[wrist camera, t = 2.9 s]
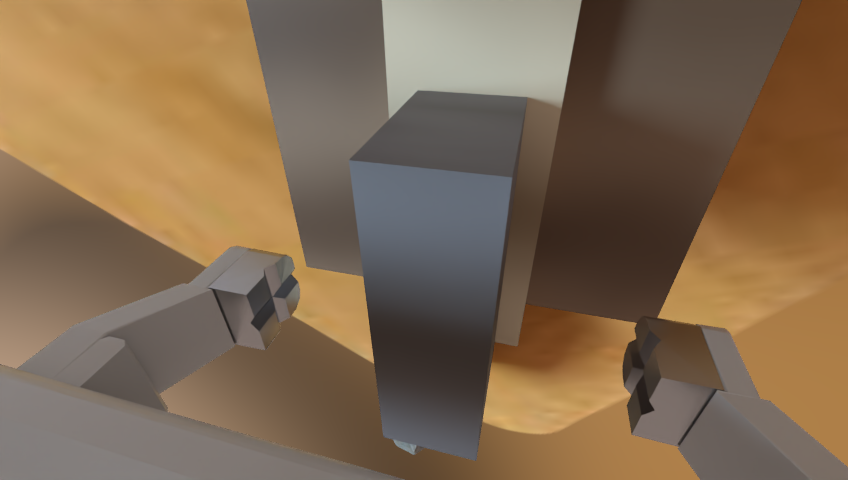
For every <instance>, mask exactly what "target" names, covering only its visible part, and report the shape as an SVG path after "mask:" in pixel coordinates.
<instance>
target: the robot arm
mask: <svg viewBox="0 0 848 480" xmlns="http://www.w3.org/2000/svg"><path fill="white" fill-rule="evenodd" d="M294 269H295V267H294V264H293V260H292V258H291V257H289V256H287V255H283V254H278V253H273V252H268V251H263V250H258V249H250V248H245V247H241V246H234V247H230V248H229V249H228V250H227V251H225V252H224V253H223V254H222V255H221V256H220V257H219V258H217V259H216V260H215V261H214V262H213V263H212V264H211V265H209V266H208V267H207V268H206V269H205V270H204V271H203V272H202V273H200V274H199V275H198V276H197V277H196V278H195V279H194V280H192V281H191V282H190V283H189V284H180V285H177V286H175V287H172V288H170V289H167V290H165V291H162V292H159V293H157V294H154V295H151V296H149V297H146V298H143V299H141V300H139V301H136V302H133V303H131V304H128V305H125V306H123V307H120V308H118V309H115V310H112V311H110V312H107V313H105V314H102V315H99V316H97V317H94V318H92V319H89V320H86V321H84V322H81V323H78V324H76V325H73V326H72V327H71V328H69V329H68V330H67V331H65V332H64V333H63V334H61V335H60V336H59V337H57V338H56V339H55V340H53V341H52V342H51V343H50V344H48V345H47V346H46V347H44V348H43V349H42V350H40V351H39V352H38V353H36V354H35V355H34V356H33V357H31V358H30V359H29V360H27V361H26V362H25V363H23V364H22V365H21V366H19V367H18V368H17V369H15V368H12V367H8V366H5V365H1V364H0V480H404V479H401V478H397V477H394V476H390V475H386V474H383V473H380V472H376V471H373V470H369V469H366V468H362V467H359V466H355V465H352V464H348V463H344V462H341V461H338V460H334V459H331V458H327V457H323V456H320V455H316V454H313V453H309V452H306V451H302V450H299V449H295V448H292V447H288V446H285V445H281V444H278V443H274V442H271V441H267V440H264V439H260V438H257V437H253V436H250V435H246V434H243V433H239V432H236V431H232V430H229V429H225V428H222V427H218V426H215V425H211V424H208V423H204V422H201V421H197V420H194V419H190V418H187V417H183V416H180V415H176V414H173V413H169V412H168V410H167V409H168V407H167V405H166V404H165V402H164V401H163V399H162V398H161V396H160V393H161V392H163V391H164V390H166V389H168V388H169V387H171V386H172V385H174V384H176V383H177V382H178V381H180V380H182V379H184V378H185V377H187V376H188V375H190V374H191V373H193V372H194V371H196V370H198V369H199V368H201V367H203V366H204V365H205V364H207V363H209V362H210V361H212V360H213V359H215V358H217V357H218V356H220V355H222V354H223V353H224V352H226V351H228V350H229V349H231V348H233V347H234V346H235V344H237V345H242V346H247V347H252V348H258V349H262V350H266V349H267V348H268V346H269V345H270V344H271V342H272V341H273V340H274V338H275V337H276V336H277V334H278V333H279V332H280V330H281V329H280V322H282V321H284V320H286V319H288V318H290V317H291V315H292V314H293V313H294V311H295V310H296V308H297V305H298V302H299V299H300V288H299V283H298V281H297V280H296V279H295V278H294V277H293V276H292V275H291V274H292V272H293V271H294ZM635 333H636V339H635V340H634V341H632V342H630V343H628V346H627V349H626V352H625V354H624V361H623V381H624V387H625V388H626V389H627V390H628V392H629V393H630V394H631V398H630V400H629V402H628V404H627V408H628V415H629V421H630V427H631V433H632V435H635V436H639V437H643V438H647V439H651V440H654V441H659V442H662V443H666V444H670V445H674V446H678V447H679V448H678V449H679V451H680V452H681V454H682V455H683V456H684V458H685V459H686V460H687V462H688V463H689V465H690V466H691V467H692V469H693V470H694V471H695V473H696V474H697V476H698V477H699V478H700V480H848V467H847V466H846V465H844V463H842V462H841V461H840V460H838V458H837V457H835V456H834V455H833V454H832V453H831V452H829V451H828V450H827V449H826V448H825V447H824V446H822V445H821V444H820V443H819V442H818V441H817V440H815V439H814V438H813V437H812V436H810V435H809V434H808V433H807V432H806V431H805V430H804V429H802V428H801V427H800V426H799V425H798V424H796V423H795V422H794V421H793V420H792V419H791V418H789V417H788V416H787V415H786V414H785V413H783V412H782V411H781V410H780V409H779V408H778V407H776V406H775V405H774V404H773V403H772V402H771V401H768V400H763V399H760V397H759V395H758V392H757V390H756V388H755V386H754V384H753V382H752V380H751V377H750V375H749V373H748V371H747V369H746V367H745V364H744V362H743V360H742V358H741V356H740V354H739V352H738V349H737V347H736V345H735V343H734V341H733V339H732V337H731V334H730V333H729V332H728V331H727V330H726V329H725V328H718V327H712V326H705V325H699V324H696V325H694V324H690V323H684V322H678V321H672V320H665V319H659V318H653V317H647V316H642V317H641V318H640V319H639V320H638V322H637V324H636V327H635Z"/></svg>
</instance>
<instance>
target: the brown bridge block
mask: <svg viewBox="0 0 848 480" xmlns="http://www.w3.org/2000/svg"><path fill="white" fill-rule="evenodd" d="M801 1H802V0H582V1H581V6H580V12H579V17H578V22H577V28H576V33H575V39H574V44H573V49H572V55H571V60H570V66H569V71H568V76H567V82H566V87H565V93H564V98H563V103H562V109H561V114H560V120H559V125H558V130H557V136H556V141H555V147H554V152H553V158H552V163H551V168H550V174H549V179H548V185H547V190H546V195H545V201H544V206H543V212H542V217H541V222H540V228H539V233H538V239H537V244H536V249H535V255H534V260H533V266H532V271H531V276H530V282H529V287H528V293H527V298H526V303H525V304H529V305H535V306H541V307H547V308H553V309H558V310H564V311H570V312H576V313H582V314H588V315H594V316H600V317H606V318H611V319H617V320H623V321H629V322H635V323H637V322H638V320H639V319H640V318H641V317H642V316H647V317H653V318H657V317H658V315H659V313H660V311H661V308H662V306H663V304H664V302H665V300H666V297H667V295H668V293H669V291H670V289H671V286H672V284H673V282H674V280H675V278H676V275H677V273H678V271H679V269H680V267H681V265H682V262H683V260H684V258H685V256H686V254H687V251H688V249H689V247H690V245H691V243H692V240H693V238H694V236H695V234H696V232H697V229H698V227H699V225H700V223H701V221H702V218H703V216H704V214H705V212H706V210H707V207H708V205H709V203H710V201H711V199H712V197H713V194H714V192H715V190H716V188H717V186H718V183H719V181H720V179H721V177H722V175H723V172H724V170H725V168H726V166H727V164H728V161H729V159H730V157H731V155H732V153H733V150H734V148H735V146H736V144H737V142H738V139H739V137H740V135H741V133H742V131H743V129H744V126H745V124H746V122H747V120H748V118H749V115H750V113H751V111H752V109H753V107H754V104H755V102H756V100H757V98H758V96H759V93H760V91H761V89H762V87H763V85H764V82H765V80H766V78H767V76H768V74H769V71H770V69H771V67H772V65H773V63H774V60H775V58H776V56H777V54H778V52H779V50H780V47H781V45H782V43H783V41H784V39H785V36H786V34H787V32H788V30H789V28H790V25H791V23H792V21H793V19H794V17H795V14H796V12H797V10H798V8H799V6H800V3H801ZM246 2H247V6H248V10H249V15H250V19H251V24H252V28H253V32H254V37H255V41H256V46H257V50H258V54H259V59H260V63H261V68H262V72H263V76H264V81H265V85H266V90H267V94H268V98H269V103H270V107H271V112H272V116H273V120H274V125H275V129H276V134H277V138H278V142H279V147H280V151H281V156H282V160H283V164H284V169H285V173H286V178H287V182H288V186H289V191H290V195H291V200H292V204H293V208H294V213H295V217H296V222H297V226H298V230H299V235H300V239H301V244H302V248H303V252H304V257H305V261H306V266H307V267H311V268H317V269H323V270H329V271H335V272H340V273H346V274H352V275H358V276H363V269H362V261H361V253H360V245H359V237H358V229H357V221H356V213H355V205H354V198H353V190H352V182H351V174H350V166H349V159H350V158H351V157H352V156H353V155H354V154H355V153H356V152H357V151H358V150H359V149H360V148H361V147H362V146H363V145H364V144H365V143H366V142H367V141H368V140H369V139H370V138H371V137H372V136H373V135H374V134H375V133H376V132H377V131H378V130H379V129H380V128H381V127H382V126H383V125H384V124H385V123H386V122H387V121H388V120H389V110H388V93H387V77H386V60H385V43H384V27H383V10H382V0H246Z"/></svg>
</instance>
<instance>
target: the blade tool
mask: <svg viewBox="0 0 848 480" xmlns="http://www.w3.org/2000/svg"><path fill="white" fill-rule="evenodd" d="M581 1H582V0H382V10H383V27H384V43H385V60H386V77H387V93H388V110H389V120H388V121H387V122H386V123H385V124H384V125H383V126H382V127H381V128H380V129H379V130H378V131H377V132H376V133H375V134H374V135H373V136H372V137H371V138H370V139H369V140H368V141H367V142H366V143H365V144H364V145H363V146H362V147H361V148H360V149H359V150H358V151H357V152H356V153H355V154H354V155H353V156H352V157H351V158H350V159H349V166H350V174H351V182H352V190H353V198H354V205H355V213H356V221H357V229H358V237H359V245H360V253H361V261H362V269H363V277H364V285H365V293H366V301H367V309H368V317H369V325H370V333H371V341H372V349H373V356H374V364H375V372H376V379H377V388H378V396H379V404H380V412H381V419H382V428H383V436H384V437H386V438H390V439H393V440H397V441H401V442H405V443H409V444H413V445H417V446H421V447H425V448H428V449H433V450H437V451H440V452H445V453H448V454H452V455H456V456H460V457H464V458H468V459H471V460H475V461H476V459H477V452H478V445H479V439H480V433H481V426H482V420H483V414H484V407H485V401H486V394H487V388H488V382H489V375H490V369H491V362H492V356H493V350H494V343H495V342H497V343H502V344H508V345H513V346H518V341H519V336H520V330H521V325H522V320H523V314H524V309H525V303H526V298H527V293H528V287H529V282H530V276H531V271H532V266H533V260H534V255H535V249H536V244H537V239H538V233H539V228H540V222H541V217H542V212H543V206H544V201H545V195H546V190H547V185H548V179H549V174H550V168H551V163H552V158H553V152H554V147H555V141H556V136H557V130H558V125H559V120H560V114H561V109H562V103H563V98H564V93H565V87H566V82H567V76H568V71H569V66H570V60H571V55H572V49H573V44H574V39H575V33H576V28H577V22H578V17H579V12H580V6H581Z"/></svg>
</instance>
